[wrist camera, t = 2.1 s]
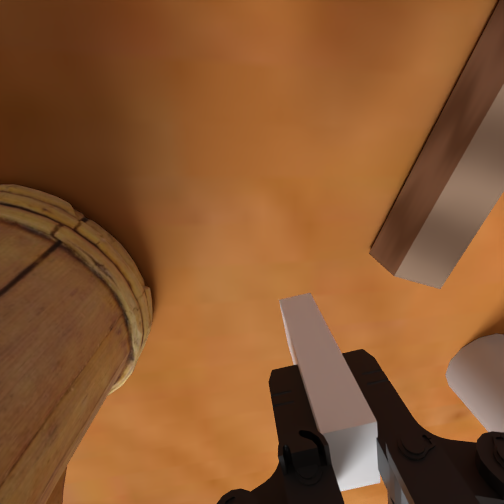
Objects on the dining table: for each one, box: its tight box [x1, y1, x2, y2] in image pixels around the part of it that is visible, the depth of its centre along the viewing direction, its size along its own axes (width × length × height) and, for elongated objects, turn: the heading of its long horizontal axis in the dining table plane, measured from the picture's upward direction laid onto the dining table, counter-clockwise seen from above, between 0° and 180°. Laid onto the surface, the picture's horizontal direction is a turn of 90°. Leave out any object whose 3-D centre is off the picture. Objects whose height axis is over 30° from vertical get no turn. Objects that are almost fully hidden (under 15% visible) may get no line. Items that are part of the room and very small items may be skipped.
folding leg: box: [369, 0, 504, 289], centre depth 19 cm, size 22×4×5 cm, turn 162°
